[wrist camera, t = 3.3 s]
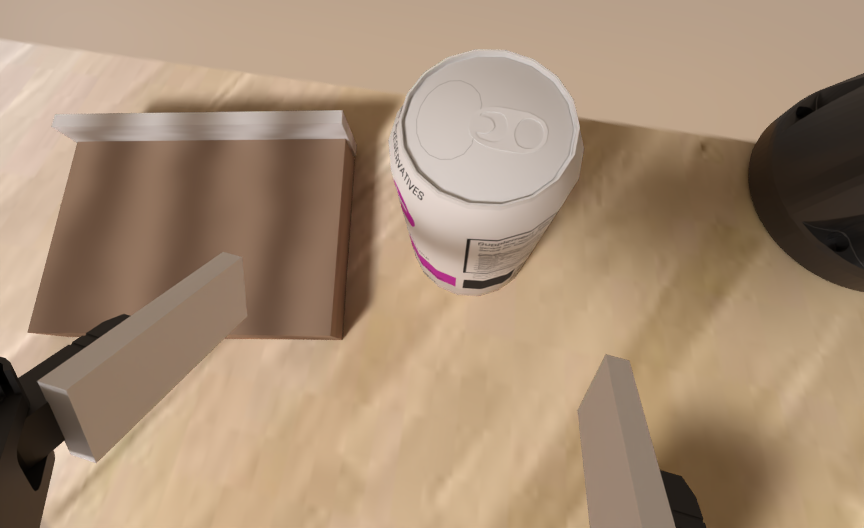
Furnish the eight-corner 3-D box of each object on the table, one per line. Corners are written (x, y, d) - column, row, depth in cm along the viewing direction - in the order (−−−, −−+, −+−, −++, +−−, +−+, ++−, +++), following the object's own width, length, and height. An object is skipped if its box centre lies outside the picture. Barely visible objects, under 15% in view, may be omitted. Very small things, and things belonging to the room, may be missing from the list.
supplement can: (402, 283, 30) (358, 197, 16) (430, 181, 32) (414, 21, 18) (514, 310, 29) (576, 244, 15) (535, 203, 31) (609, 54, 17)
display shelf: (358, 144, 33) (342, 106, 28) (345, 339, 29) (324, 332, 24) (110, 147, 34) (55, 110, 29) (65, 336, 30) (-7, 329, 25)
